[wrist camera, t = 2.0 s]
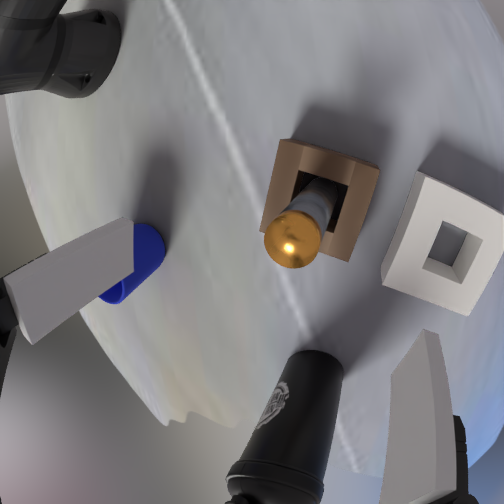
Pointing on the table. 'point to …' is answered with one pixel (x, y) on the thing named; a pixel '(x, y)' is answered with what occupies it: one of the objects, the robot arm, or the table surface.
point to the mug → (138, 262)
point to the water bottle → (291, 436)
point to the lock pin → (301, 225)
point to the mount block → (331, 167)
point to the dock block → (422, 238)
